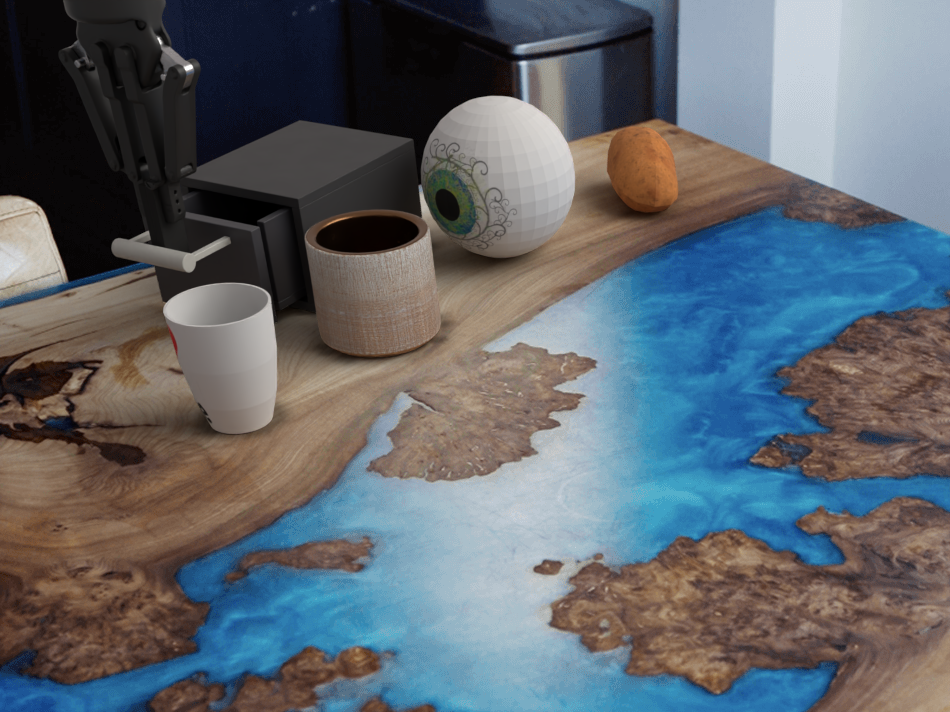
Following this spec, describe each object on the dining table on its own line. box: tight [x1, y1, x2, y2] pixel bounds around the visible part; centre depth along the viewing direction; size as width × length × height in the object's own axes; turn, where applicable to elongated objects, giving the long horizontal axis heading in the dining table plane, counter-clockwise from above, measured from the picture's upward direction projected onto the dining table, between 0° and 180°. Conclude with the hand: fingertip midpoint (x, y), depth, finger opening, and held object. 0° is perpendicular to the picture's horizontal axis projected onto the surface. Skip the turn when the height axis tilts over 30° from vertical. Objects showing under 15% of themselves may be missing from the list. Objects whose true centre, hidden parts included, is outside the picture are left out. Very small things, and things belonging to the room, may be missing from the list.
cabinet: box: [180, 119, 423, 314], centre depth 137 cm, size 18×14×11 cm
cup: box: [162, 283, 278, 435], centre depth 112 cm, size 8×8×10 cm
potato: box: [606, 125, 679, 213], centre depth 151 cm, size 7×13×7 cm, turn 10°
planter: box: [305, 209, 442, 359], centre depth 124 cm, size 11×11×10 cm
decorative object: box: [420, 95, 576, 259], centre depth 138 cm, size 15×15×15 cm
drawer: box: [110, 189, 307, 325], centre depth 130 cm, size 23×13×9 cm, turn 153°
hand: (172, 254), depth 123 cm, fingers closed
